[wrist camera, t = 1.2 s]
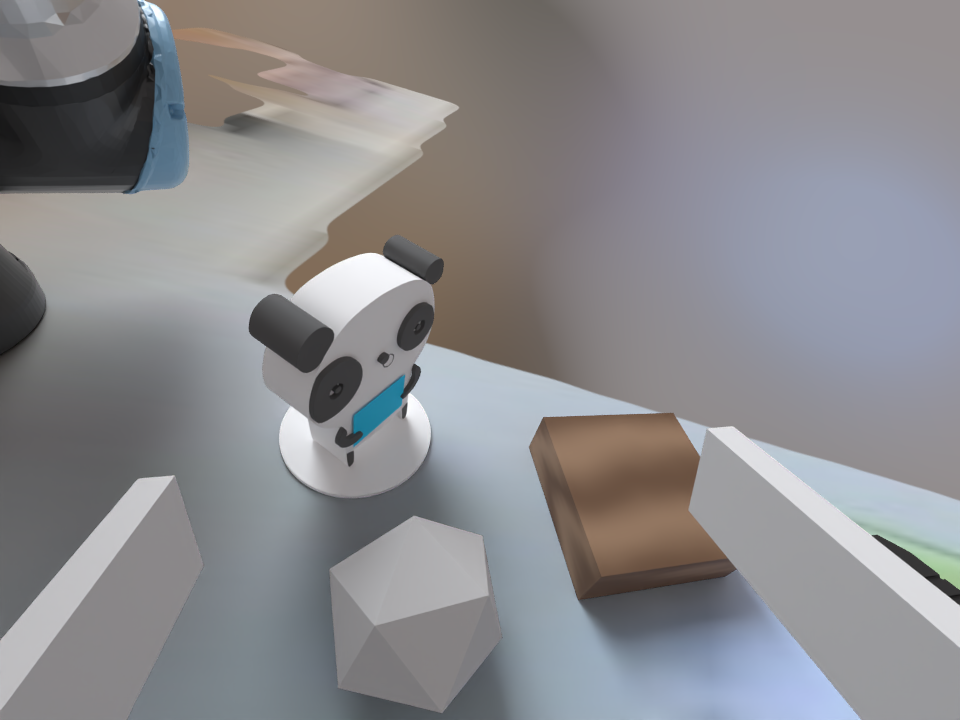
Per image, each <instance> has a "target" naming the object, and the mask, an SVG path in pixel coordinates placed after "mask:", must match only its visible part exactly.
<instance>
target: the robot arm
mask: <svg viewBox="0 0 960 720" xmlns="http://www.w3.org/2000/svg"><path fill="white" fill-rule="evenodd" d="M188 167H189V139H188V128H187V119H186V115H185V112H184V96H183V85H182V79H181V73H180V67H179V62H178V56H177V51H176V47H175V42H174V38H173V34H172V31H171V27H170V24H169V21H168V19H167V17H166V15H165V13H164V12H163V11H162V10H161V9H160V8H159V7H158V6H156V5H154V4H152V3H149V2H145V1H144V0H0V194H9V193H123V194H134V193H137V192H139V191H143V190H158V189H170V188H174V187H176V186H178V185H179V184H181V183H182V182H183V181H184V179H185V178H186V176H187V173H188ZM45 305H46V300H45V295H44V293H43V291H42V289H41V287H40V285H39V283H38V282H37V280H36V278H35V276H34V275H33V273H32V271H31V270H30V269H29V267H28V266H27V265H26V264H25V263H24V262H23V261H22V260H20V259H19V258H18V257H16V256H15V255H14V254H12V253H10V252H9V251H7V250H6V249H5V248H4V247H3V246H2V245H1V244H0V354H2V353H3V352H5V351H7V350H8V349H10V348H11V347H13V346H14V345H16V344H17V343H18V342H20V341H21V340H22V339H23V338H24V337H26V336H27V335H28V334H29V333H30V332H31V331H32V330H33V329H34V328H35V326H36V325H37V324H38V322H39V321H40V319H41V317H42V315H43V313H44V310H45ZM688 510H689V512H690V513H691V514H692V515H693V517H694V518H695V519H696V520H697V521H698V523H699V524H700V525H701V526H702V527H703V529H704V530H705V531H706V532H707V533H708V535H709V536H710V537H711V538H712V539H713V541H714V542H715V543H716V544H717V546H718V547H719V548H720V549H721V550H722V552H723V553H724V554H725V555H726V556H727V558H728V559H729V560H730V561H731V562H732V564H733V565H734V566H735V567H736V569H737V570H738V571H739V572H740V573H741V575H742V576H743V577H744V578H745V579H746V581H747V582H748V583H749V584H750V585H751V587H752V588H753V589H754V590H755V592H756V593H757V594H758V595H759V596H760V598H761V599H762V600H763V601H764V602H765V604H766V605H767V606H768V607H769V608H770V610H771V611H772V612H773V613H774V614H775V616H776V617H777V618H778V619H779V621H780V622H781V623H782V624H783V625H784V627H785V628H786V629H787V630H788V631H789V633H790V634H791V635H792V636H793V637H794V639H795V640H796V641H797V642H798V644H799V645H800V646H801V647H802V648H803V650H804V651H805V652H806V653H807V654H808V656H809V657H810V658H811V659H812V660H813V662H814V663H815V664H816V665H817V667H818V668H819V669H820V670H821V671H822V673H823V674H824V675H825V676H826V677H827V679H828V680H829V681H830V682H831V683H832V685H833V686H834V687H835V688H836V689H837V691H838V692H839V693H840V694H841V696H842V697H843V698H844V699H845V700H846V702H847V703H848V704H849V705H850V706H851V708H852V709H853V710H854V711H855V712H856V714H857V715H858V716H859V717H860V719H861V720H960V590H959V589H957V588H956V587H955V586H954V585H952V584H951V583H950V582H948V581H947V580H946V579H944V580H942V579H941V578H940V576H939V574H938V573H937V572H935V571H934V570H933V569H931V568H930V567H929V566H927V565H926V564H925V563H923V562H922V561H921V560H919V559H918V558H917V557H916V556H914V555H913V554H912V553H910V552H908V551H907V550H905V549H903V548H901V547H899V546H897V545H895V544H893V543H892V542H890V541H888V540H886V539H884V538H882V537H880V536H878V535H872V536H871V535H870V534H869V533H867V532H866V531H865V530H863V529H862V528H861V527H860V526H858V525H857V524H856V523H855V522H853V521H852V520H851V519H850V518H848V517H847V516H846V515H845V514H843V513H842V512H841V511H839V510H838V509H837V508H836V507H834V506H833V505H832V504H831V503H829V502H828V501H827V500H826V499H824V498H823V497H822V496H820V495H819V494H818V493H817V492H815V491H814V490H813V489H812V488H810V487H809V486H808V485H807V484H805V483H804V482H803V481H801V480H800V479H799V478H798V477H796V476H795V475H794V474H793V473H791V472H790V471H789V470H788V469H786V468H785V467H784V466H783V465H781V464H780V463H779V462H777V461H776V460H775V459H774V458H772V457H771V456H770V455H769V454H767V453H766V452H765V451H764V450H762V449H761V448H760V447H758V446H757V445H756V444H755V443H753V442H752V441H751V440H750V439H748V438H747V437H746V436H744V435H743V434H742V433H741V432H739V431H738V430H737V429H736V428H734V427H733V426H731V427H719V428H708V429H707V430H706V434H705V439H704V443H703V448H702V452H701V456H700V461H699V465H698V470H697V474H696V478H695V483H694V487H693V492H692V496H691V500H690V505H689V509H688ZM203 567H204V564H203V561H202V558H201V555H200V552H199V548H198V545H197V542H196V539H195V536H194V533H193V530H192V527H191V524H190V520H189V517H188V514H187V511H186V508H185V505H184V502H183V499H182V495H181V492H180V489H179V486H178V483H177V480H176V477H175V475H173V476H162V477H150V478H139V479H137V480H136V482H135V483H134V484H133V485H132V486H131V488H130V489H129V490H128V491H127V492H126V493H125V495H124V496H123V497H122V498H121V499H120V500H119V502H118V503H117V504H116V505H115V506H114V507H113V509H112V510H111V511H110V512H109V513H108V515H107V516H106V517H105V518H104V519H103V520H102V522H101V523H100V524H99V525H98V526H97V527H96V529H95V530H94V531H93V532H92V533H91V534H90V536H89V537H88V538H87V539H86V540H85V541H84V543H83V544H82V545H81V546H80V547H79V549H78V550H77V551H76V552H75V553H74V554H73V556H72V557H71V558H70V559H69V560H68V561H67V563H66V564H65V565H64V566H63V567H62V568H61V570H60V571H59V572H58V573H57V574H56V576H55V577H54V578H53V579H52V580H51V581H50V583H49V584H48V585H47V586H46V587H45V588H44V590H43V591H42V592H41V593H40V594H39V595H38V597H37V598H36V599H35V600H34V601H33V603H32V604H31V605H30V606H29V607H28V608H27V610H26V611H25V612H24V613H23V614H22V615H21V617H20V618H19V619H18V620H17V621H16V622H15V624H14V625H13V626H12V627H11V628H10V630H9V631H8V632H7V633H6V634H5V635H4V637H3V638H2V639H1V640H0V720H127V718H128V716H129V714H130V712H131V710H132V708H133V706H134V704H135V702H136V700H137V698H138V696H139V694H140V692H141V690H142V688H143V686H144V684H145V682H146V680H147V678H148V676H149V674H150V672H151V670H152V668H153V666H154V664H155V662H156V660H157V658H158V656H159V654H160V652H161V650H162V648H163V646H164V644H165V642H166V640H167V638H168V636H169V634H170V632H171V630H172V628H173V626H174V624H175V622H176V620H177V618H178V616H179V615H180V613H181V611H182V609H183V607H184V605H185V603H186V601H187V599H188V597H189V595H190V593H191V591H192V589H193V587H194V585H195V583H196V581H197V579H198V577H199V575H200V573H201V571H202V569H203Z"/></svg>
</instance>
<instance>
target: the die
mask: <svg viewBox="0 0 960 720" xmlns="http://www.w3.org/2000/svg"><path fill="white" fill-rule="evenodd" d="M329 575H330V588H331V601H332V614H333V627H334V641H335V654H336V667H337V680H338V688H339V689H344V690H348V691H352V692H356V693H360V694H364V695H369V696H373V697H377V698H381V699H385V700H389V701H394V702H398V703H402V704H406V705H410V706H414V707H419V708H423V709H427V710H431V711H435V712H439V713H443V712H444V711H445V709H446V708H447V707H448V706H449V704H450V703H451V702H452V701H453V699H454V698H455V697H456V695H457V694H458V693H459V692H460V690H461V689H462V688H463V687H464V685H465V684H466V683H467V682H468V680H469V679H470V678H471V677H472V675H473V674H474V673H475V671H476V670H477V669H478V668H479V666H480V665H481V664H482V663H483V661H484V660H485V659H486V658H487V656H488V655H489V654H490V653H491V651H492V650H493V649H494V648H495V646H496V645H497V644H498V642H499V641H500V640H501V639H502V634H501V629H500V624H499V618H498V613H497V608H496V603H495V598H494V592H493V587H492V582H491V577H490V572H489V567H488V561H487V556H486V551H485V546H484V541H483V536H482V535H479V534H475V533H472V532H468V531H465V530H461V529H458V528H455V527H451V526H448V525H444V524H441V523H438V522H434V521H431V520H427V519H424V518H420V517H417V516H413V517H411V518H409V519H408V520H406V521H405V522H403V523H401V524H400V525H398V526H397V527H395V528H394V529H392V530H390V531H389V532H387V533H386V534H384V535H382V536H381V537H379V538H378V539H376V540H375V541H373V542H371V543H370V544H368V545H367V546H365V547H363V548H362V549H360V550H359V551H357V552H355V553H354V554H352V555H351V556H349V557H348V558H346V559H344V560H343V561H341V562H340V563H338V564H336V565H335V566H333V567H332V568H330V569H329Z"/></svg>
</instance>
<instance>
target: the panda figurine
mask: <svg viewBox="0 0 960 720" xmlns="http://www.w3.org/2000/svg"><path fill="white" fill-rule="evenodd" d="M383 254H384V256H382V255H379V254H375V253H366V254H361V255H358V256H355V257H352V258H349V259H346V260H344V261H342V262H339V263H337V264H335V265H333V266H331V267H329V268H328V269H326V270H325V271H323V272H321V273H320V274H318V275H317V276H316V277H314V278H313V279H311V280H310V281H309V282H307V283H306V284H305V285H304V286H303V287H301V288H300V289H299V290H298V291H297V292H296V293H295V294H294V296H293V297H292V298H291V299H290V301H289V300H287V299H286V298H284V297H283V296H281V295H278V294H271V295H268V296H267V297H265V298H264V299H263V300H261V301H260V302H259V303H258V305H257V306H256V307H255V308H254V310H253V312H252V314H251V317H250V321H249V332H250V334H251V335H252V336H253V337H254V338H255V339H257V340H258V341H260V342H261V343H262V344H264V345H265V346H266V349H265V353H264V358H263V368H262V371H263V379H264V383H265V385H266V387H267V388H268V389H270V390H271V391H272V392H274V393H275V394H276V395H277V396H279V397H280V398H281V399H283V400H284V401H285V402H287V403H288V404H289V405H291V406H290V408H289V409H288V411H287V412H286V414H285V416H284V418H283V420H282V423H281V427H280V432H279V444H280V450H281V454H282V457H283V460H284V462H285V464H286V466H287V467H288V469H289V470H290V472H291V473H292V474H293V475H294V476H295V477H296V478H297V479H298V480H299V481H300V482H302V483H303V484H305V485H306V486H308V487H309V488H311V489H313V490H315V491H317V492H320V493H323V494H326V495H329V496H333V497H340V498H364V497H370V496H375V495H379V494H382V493H385V492H387V491H390V490H392V489H394V488H396V487H397V486H399V485H401V484H402V483H404V482H405V481H406V480H408V479H409V478H410V477H411V476H412V475H413V474H414V473H415V472H416V471H417V470H418V469H419V467H420V466H421V464H422V463H423V461H424V459H425V457H426V455H427V452H428V449H429V445H430V439H431V428H430V423H429V419H428V416H427V414H426V412H425V410H424V408H423V407H422V405H421V404H420V403H419V401H418V400H417V399H416V398H415V397H414V396H413V395H412V394H410V391H411V390H412V389H413V388H414V386H415V385H416V383H417V381H418V379H419V377H420V373H421V369H420V367H419V366H417V365H416V364H414V363H415V361H416V360H417V358H418V357H419V355H420V353H421V351H422V349H423V347H424V345H425V343H426V341H427V339H428V336H429V333H430V330H431V327H432V324H433V319H434V295H433V289H432V286H431V285H430V284H434V283H436V282H437V281H438V280H439V279H440V277H441V275H442V273H443V267H444V262H443V260H442V259H441V258H439V257H437V256H436V255H434V254H432V253H430V252H428V251H426V250H425V249H423V248H421V247H419V246H418V245H416V244H414V243H412V242H410V241H409V240H407V239H405V238H403V237H401V236H399V235H395V236H393V237H391V238H390V239H389V240H388V241H387V242H386V244H385V246H384V249H383ZM411 371H412V376H411ZM410 378H411V379H410Z"/></svg>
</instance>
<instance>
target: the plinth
mask: <svg viewBox="0 0 960 720" xmlns="http://www.w3.org/2000/svg"><path fill="white" fill-rule="evenodd" d="M529 448H530V452H531V455H532V458H533V461H534V464H535V467H536V470H537V473H538V476H539V480H540V483H541V486H542V489H543V492H544V495H545V498H546V501H547V505H548V508H549V511H550V514H551V517H552V520H553V523H554V526H555V529H556V533H557V536H558V539H559V542H560V545H561V548H562V551H563V554H564V558H565V561H566V564H567V567H568V570H569V573H570V576H571V579H572V583H573V586H574V589H575V592H576V595H577V598H578V600H581V599H588V598H594V597H600V596H606V595H613V594H619V593H625V592H631V591H637V590H644V589H650V588H656V587H662V586H669V585H675V584H681V583H687V582H694V581H700V580H706V579H712V578H718V577H725V576H727V575H728V574H730V573H731V572H733V571H734V570H736V567H735V566H734V565H733V564H732V562H731V561H730V560H729V559H728V558H727V556H726V555H725V554H724V553H723V552H722V550H721V549H720V548H719V547H718V546H717V544H716V543H715V542H714V541H713V539H712V538H711V537H710V536H709V535H708V533H707V532H706V531H705V530H704V529H703V527H702V526H701V525H700V524H699V523H698V521H697V520H696V519H695V518H694V517H693V515H692V514H691V513H690V512H689V510H688V509H689V505H690V500H691V496H692V492H693V487H694V483H695V478H696V474H697V470H698V465H699V461H700V456H699V454H698V453H697V451H696V450H695V448H694V446H693V445H692V443H691V441H690V440H689V438H688V436H687V435H686V433H685V432H684V430H683V428H682V427H681V425H680V423H679V422H678V420H677V419H676V417H675V415H674V414H673V413H656V414H626V415H596V416H566V417H543V419H542V421H541V423H540V425H539V427H538V429H537V431H536V433H535V436H534V438H533V440H532V442H531V444H530V446H529Z"/></svg>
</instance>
